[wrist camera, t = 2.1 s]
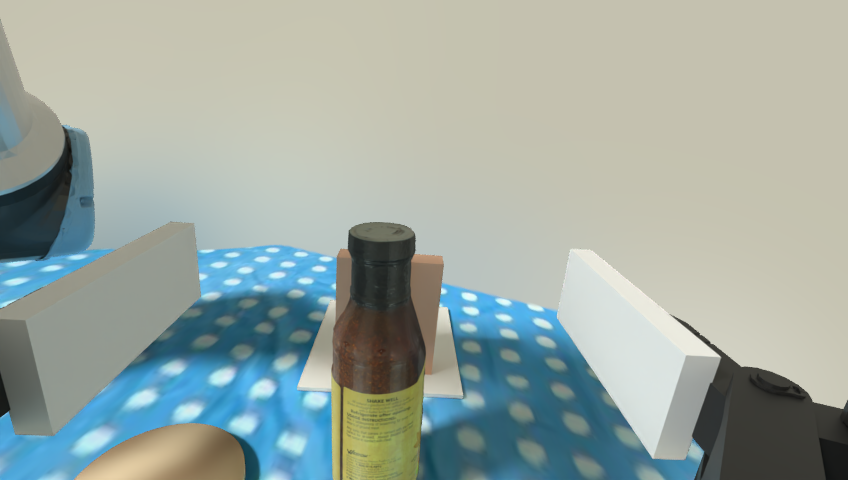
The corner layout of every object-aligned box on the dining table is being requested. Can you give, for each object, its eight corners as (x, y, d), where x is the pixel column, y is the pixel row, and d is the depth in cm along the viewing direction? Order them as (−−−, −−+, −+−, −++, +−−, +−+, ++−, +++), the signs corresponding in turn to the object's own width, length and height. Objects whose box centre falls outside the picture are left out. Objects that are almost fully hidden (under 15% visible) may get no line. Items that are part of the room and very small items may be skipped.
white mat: (462, 398, 41) (463, 395, 41) (297, 390, 40) (297, 386, 40) (447, 310, 58) (447, 307, 58) (330, 302, 57) (330, 299, 57)
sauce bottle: (433, 489, 31) (465, 238, 25) (367, 546, 27) (384, 259, 21) (377, 437, 36) (392, 211, 29) (312, 479, 31) (312, 224, 25)
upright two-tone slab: (431, 374, 44) (443, 264, 40) (334, 369, 43) (336, 257, 39) (430, 361, 46) (441, 255, 42) (338, 355, 45) (340, 248, 41)
